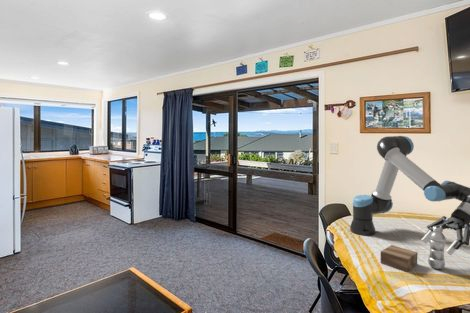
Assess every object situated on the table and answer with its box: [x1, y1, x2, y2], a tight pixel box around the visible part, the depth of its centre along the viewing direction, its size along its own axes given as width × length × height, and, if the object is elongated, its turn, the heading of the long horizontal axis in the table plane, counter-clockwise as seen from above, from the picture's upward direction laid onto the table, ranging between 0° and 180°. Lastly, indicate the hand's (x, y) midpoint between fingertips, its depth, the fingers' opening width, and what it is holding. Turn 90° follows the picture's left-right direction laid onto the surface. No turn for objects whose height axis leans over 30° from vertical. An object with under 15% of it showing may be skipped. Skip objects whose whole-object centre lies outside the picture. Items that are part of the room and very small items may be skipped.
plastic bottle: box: [427, 226, 447, 270], centre depth 129 cm, size 6×7×20 cm
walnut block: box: [380, 244, 419, 273], centre depth 135 cm, size 12×12×6 cm
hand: (435, 247), depth 129 cm, fingers open, 13 cm apart
